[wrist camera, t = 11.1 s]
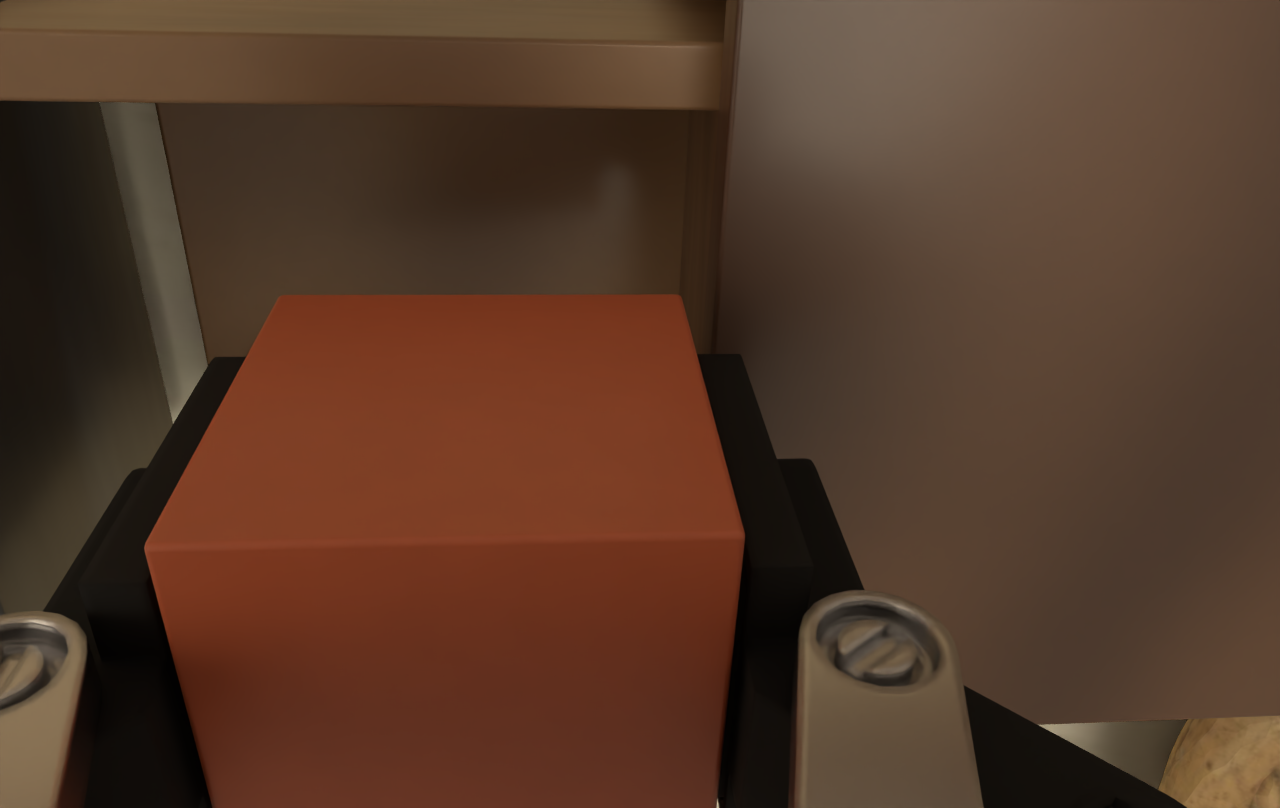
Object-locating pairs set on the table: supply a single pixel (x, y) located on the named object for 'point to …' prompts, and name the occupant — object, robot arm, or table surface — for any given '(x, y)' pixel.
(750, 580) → the robot arm
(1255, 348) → the cabinet
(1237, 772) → the oil lamp
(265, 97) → the drawer
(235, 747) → the block
